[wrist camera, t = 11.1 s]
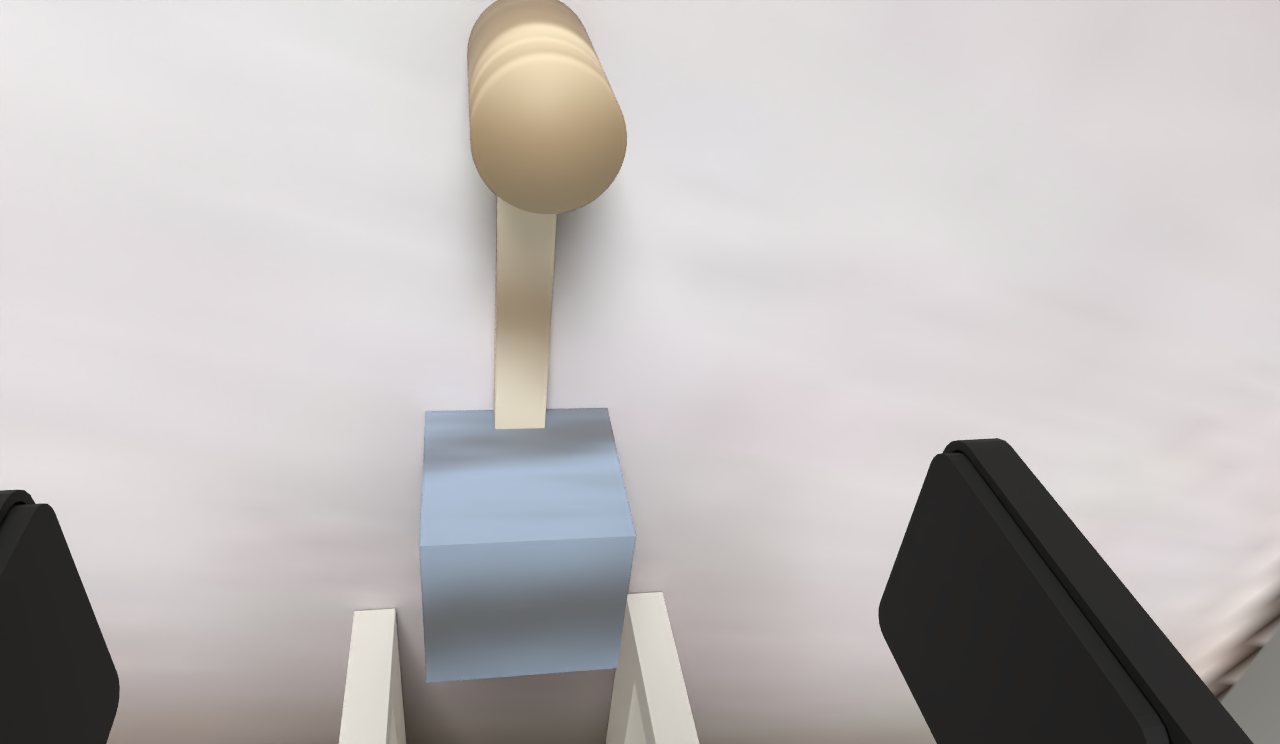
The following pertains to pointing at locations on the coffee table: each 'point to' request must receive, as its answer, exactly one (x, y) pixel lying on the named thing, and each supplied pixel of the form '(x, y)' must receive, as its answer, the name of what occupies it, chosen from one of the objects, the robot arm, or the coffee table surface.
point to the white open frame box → (641, 700)
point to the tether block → (528, 385)
